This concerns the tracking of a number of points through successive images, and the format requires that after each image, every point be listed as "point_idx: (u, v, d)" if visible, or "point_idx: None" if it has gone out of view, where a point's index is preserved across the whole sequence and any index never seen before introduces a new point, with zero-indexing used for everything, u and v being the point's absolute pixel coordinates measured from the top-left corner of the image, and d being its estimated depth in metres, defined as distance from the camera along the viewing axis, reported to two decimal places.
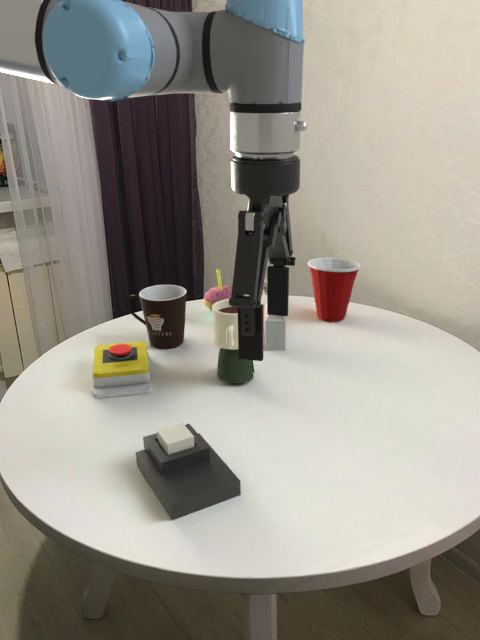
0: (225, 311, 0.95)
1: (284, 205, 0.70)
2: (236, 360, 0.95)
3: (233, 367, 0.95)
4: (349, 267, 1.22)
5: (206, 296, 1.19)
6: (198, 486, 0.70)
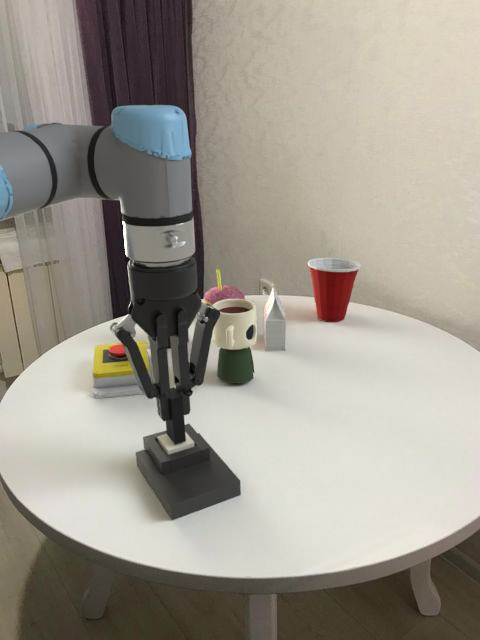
0: (225, 311, 0.95)
1: (204, 318, 0.69)
2: (236, 360, 0.95)
3: (233, 367, 0.95)
4: (349, 267, 1.22)
5: (206, 296, 1.19)
6: (198, 486, 0.70)
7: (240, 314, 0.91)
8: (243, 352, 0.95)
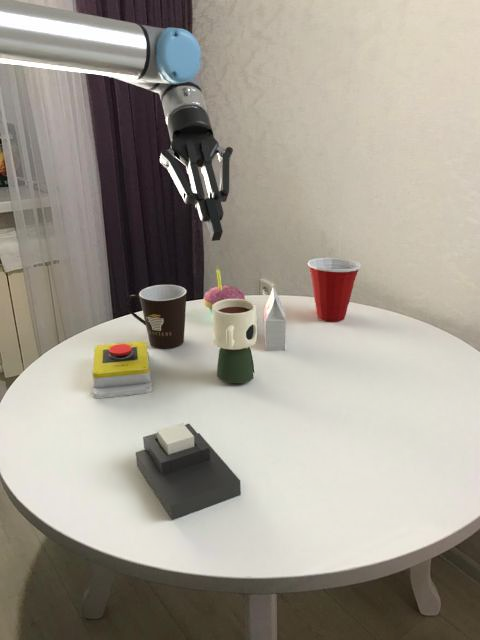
0: (225, 311, 0.95)
1: (221, 151, 1.02)
2: (236, 360, 0.95)
3: (233, 367, 0.95)
4: (349, 267, 1.22)
5: (206, 296, 1.19)
6: (198, 486, 0.70)
7: (240, 314, 0.91)
8: (243, 352, 0.95)
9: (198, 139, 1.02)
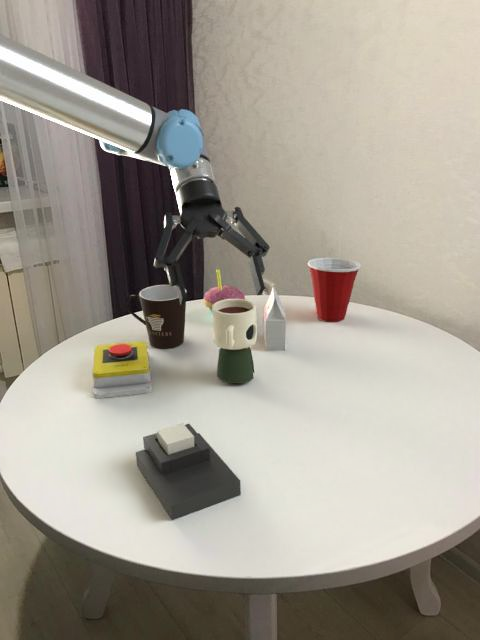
0: (225, 311, 0.95)
1: (233, 215, 1.04)
2: (236, 360, 0.95)
3: (233, 367, 0.95)
4: (349, 267, 1.22)
5: (206, 296, 1.19)
6: (198, 486, 0.70)
7: (240, 314, 0.91)
8: (243, 352, 0.95)
9: (207, 210, 1.03)
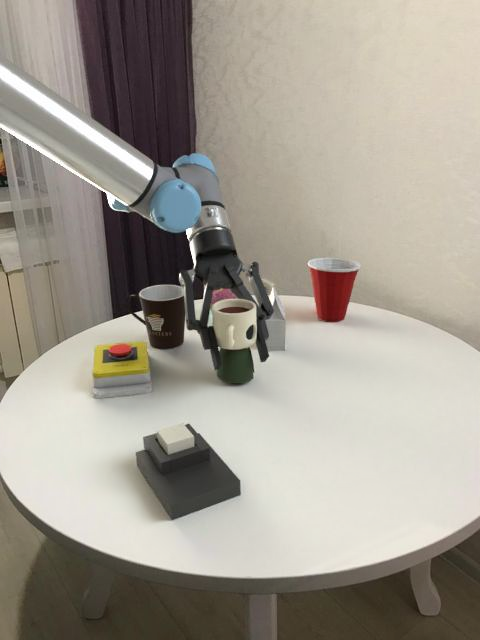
0: (225, 311, 0.95)
1: (249, 269, 0.99)
2: (236, 360, 0.95)
3: (233, 367, 0.95)
4: (349, 267, 1.22)
5: None
6: (198, 486, 0.70)
7: (240, 314, 0.91)
8: (243, 352, 0.95)
9: (222, 261, 0.99)
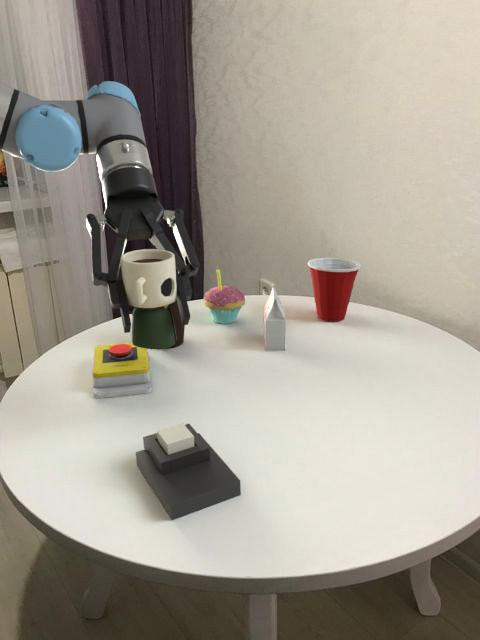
0: (138, 263, 0.79)
1: (171, 216, 0.84)
2: (150, 321, 0.79)
3: (148, 330, 0.79)
4: (349, 267, 1.22)
5: (206, 296, 1.19)
6: (198, 486, 0.70)
7: (152, 264, 0.75)
8: (160, 311, 0.79)
9: (139, 205, 0.83)
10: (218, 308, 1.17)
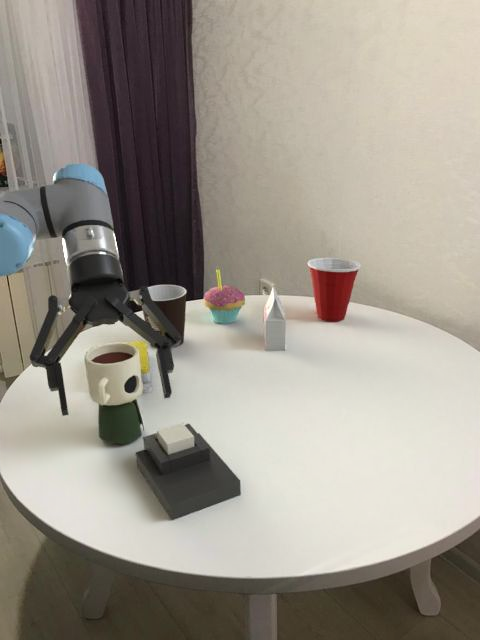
0: (103, 358, 0.79)
1: (138, 297, 0.84)
2: (115, 417, 0.79)
3: (113, 425, 0.80)
4: (349, 267, 1.22)
5: (206, 296, 1.19)
6: (198, 486, 0.70)
7: (114, 365, 0.75)
8: (125, 407, 0.79)
9: (104, 291, 0.83)
10: (218, 308, 1.17)
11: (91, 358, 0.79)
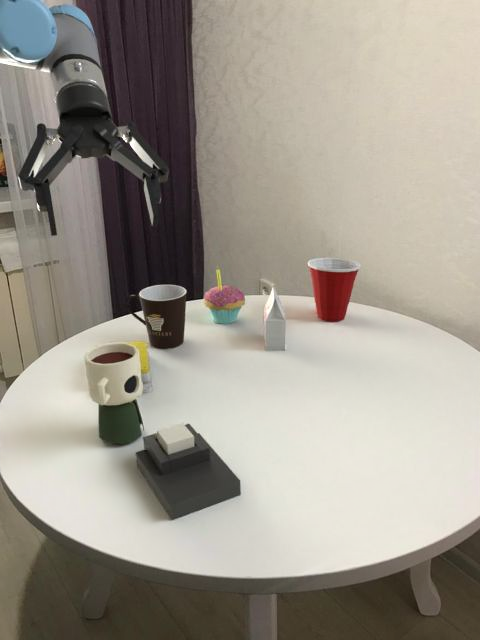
0: (103, 358, 0.79)
1: (126, 131, 0.85)
2: (115, 417, 0.79)
3: (113, 425, 0.80)
4: (349, 267, 1.22)
5: (206, 296, 1.19)
6: (198, 486, 0.70)
7: (114, 365, 0.75)
8: (125, 407, 0.79)
9: (92, 123, 0.84)
10: (218, 308, 1.17)
11: (91, 358, 0.79)
